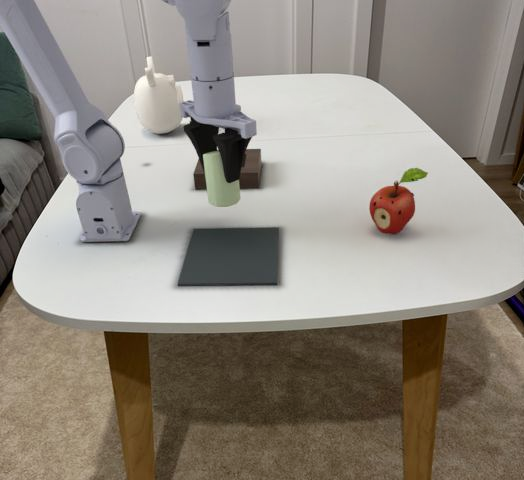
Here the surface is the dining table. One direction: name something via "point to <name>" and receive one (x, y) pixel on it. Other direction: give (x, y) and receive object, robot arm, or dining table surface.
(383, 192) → the apple
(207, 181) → the candle
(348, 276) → the dining table surface
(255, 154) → the holder
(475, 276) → the dining table surface
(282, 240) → the dining table surface
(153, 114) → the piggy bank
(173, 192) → the dining table surface
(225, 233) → the mat
